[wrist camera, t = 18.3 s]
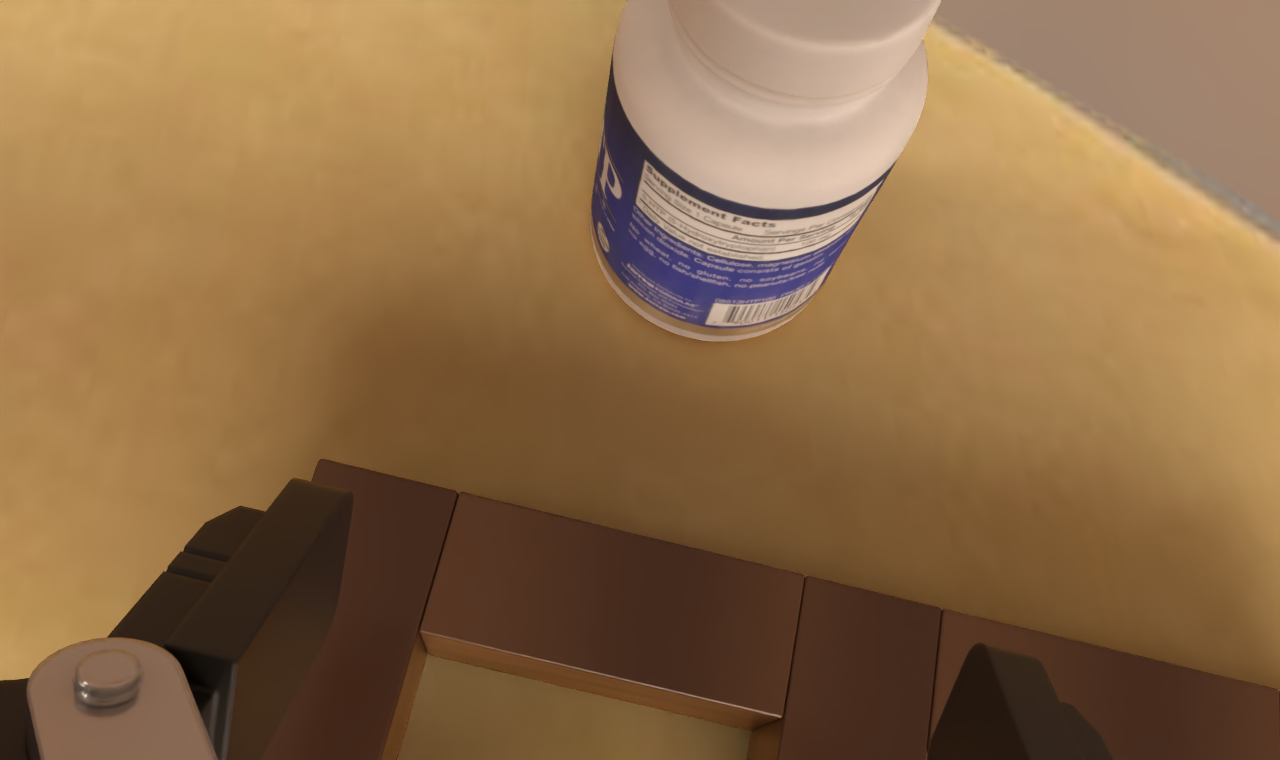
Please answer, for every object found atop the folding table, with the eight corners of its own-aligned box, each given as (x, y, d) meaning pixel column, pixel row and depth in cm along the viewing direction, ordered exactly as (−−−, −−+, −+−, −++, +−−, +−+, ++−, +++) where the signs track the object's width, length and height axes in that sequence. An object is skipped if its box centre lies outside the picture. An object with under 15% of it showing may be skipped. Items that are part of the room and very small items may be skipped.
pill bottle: (627, 102, 25) (691, -252, 17) (850, 173, 25) (1024, -146, 17) (554, 305, 23) (586, 14, 15) (798, 382, 23) (966, 134, 15)
